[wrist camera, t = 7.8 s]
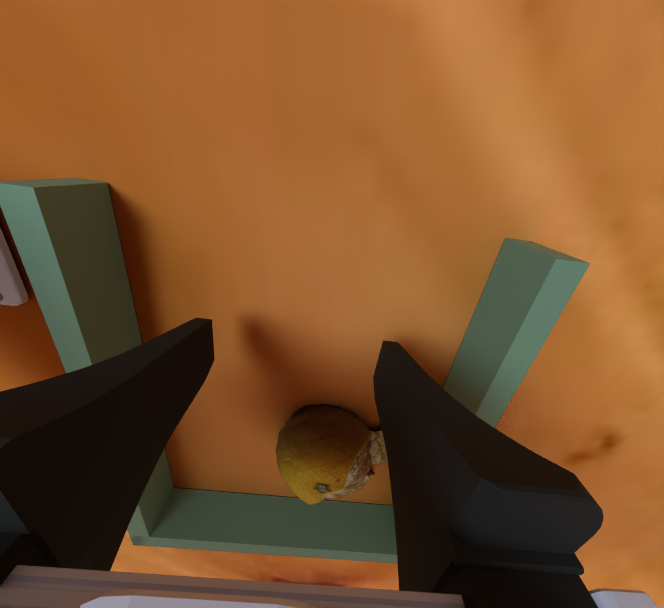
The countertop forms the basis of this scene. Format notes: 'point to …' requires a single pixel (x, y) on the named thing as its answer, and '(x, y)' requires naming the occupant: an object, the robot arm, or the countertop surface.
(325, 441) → the fruit
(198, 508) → the green u-shaped bracket
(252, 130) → the countertop surface
